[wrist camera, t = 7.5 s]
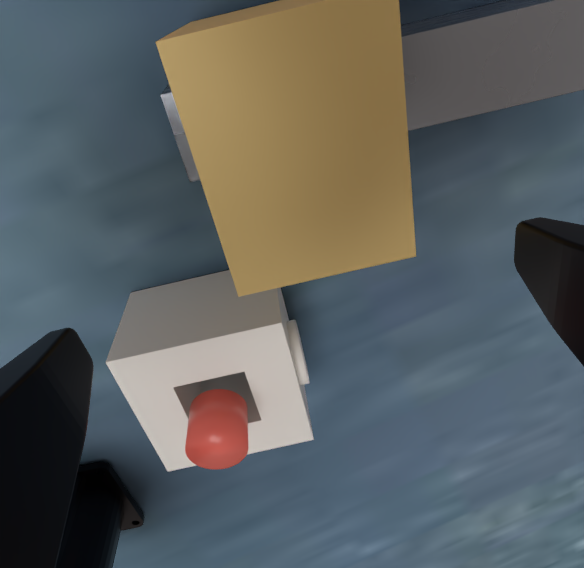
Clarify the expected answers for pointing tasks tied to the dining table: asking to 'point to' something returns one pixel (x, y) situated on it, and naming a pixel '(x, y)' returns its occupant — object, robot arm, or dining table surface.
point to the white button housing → (211, 361)
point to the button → (217, 429)
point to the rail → (474, 63)
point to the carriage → (298, 136)
